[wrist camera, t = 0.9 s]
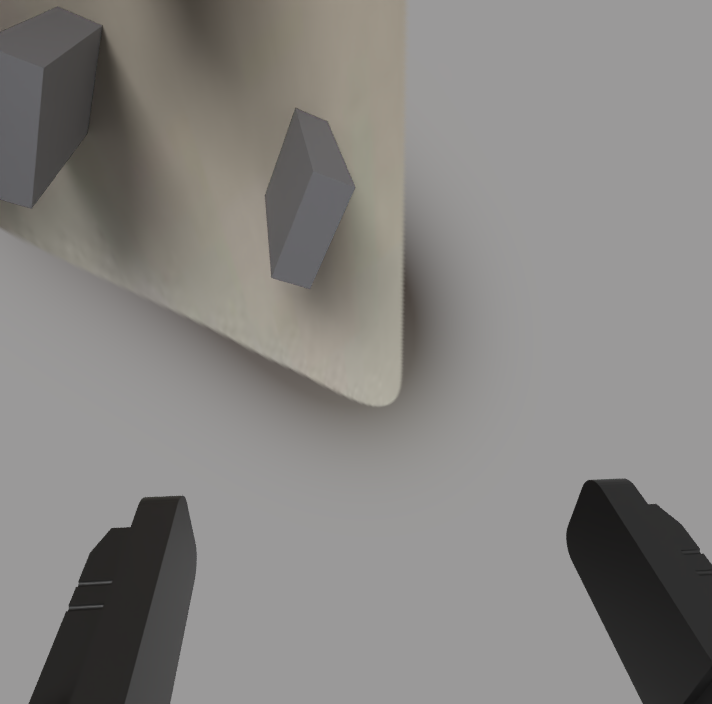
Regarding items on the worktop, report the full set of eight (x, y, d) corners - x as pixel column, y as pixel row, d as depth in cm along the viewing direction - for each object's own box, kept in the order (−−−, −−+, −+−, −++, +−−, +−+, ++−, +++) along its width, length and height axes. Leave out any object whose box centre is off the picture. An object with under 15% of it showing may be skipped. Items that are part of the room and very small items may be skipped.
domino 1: (46, 119, 25) (-27, 192, 18) (57, 6, 23) (-23, 42, 16) (87, 133, 26) (31, 208, 19) (102, 25, 23) (43, 67, 16)
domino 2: (265, 195, 29) (271, 277, 23) (295, 107, 27) (313, 171, 20) (295, 205, 30) (309, 288, 23) (327, 121, 27) (355, 187, 21)
